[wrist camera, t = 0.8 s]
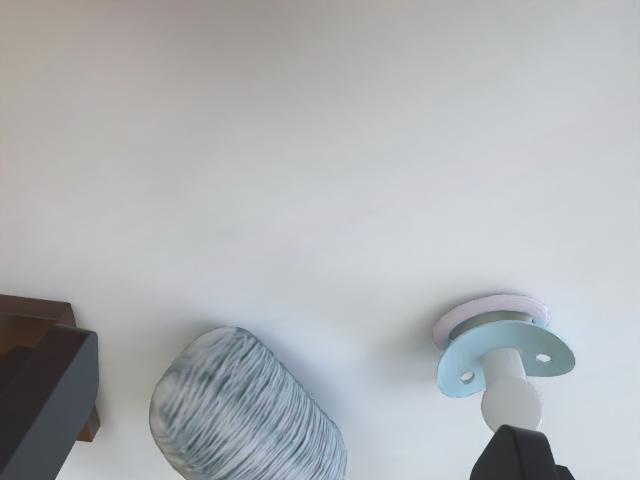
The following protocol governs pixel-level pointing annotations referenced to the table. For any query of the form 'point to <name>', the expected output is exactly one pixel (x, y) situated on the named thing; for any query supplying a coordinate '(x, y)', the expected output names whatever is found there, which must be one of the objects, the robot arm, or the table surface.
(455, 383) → the pacifier
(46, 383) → the robot arm
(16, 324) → the peg stand
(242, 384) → the spool
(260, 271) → the table surface
